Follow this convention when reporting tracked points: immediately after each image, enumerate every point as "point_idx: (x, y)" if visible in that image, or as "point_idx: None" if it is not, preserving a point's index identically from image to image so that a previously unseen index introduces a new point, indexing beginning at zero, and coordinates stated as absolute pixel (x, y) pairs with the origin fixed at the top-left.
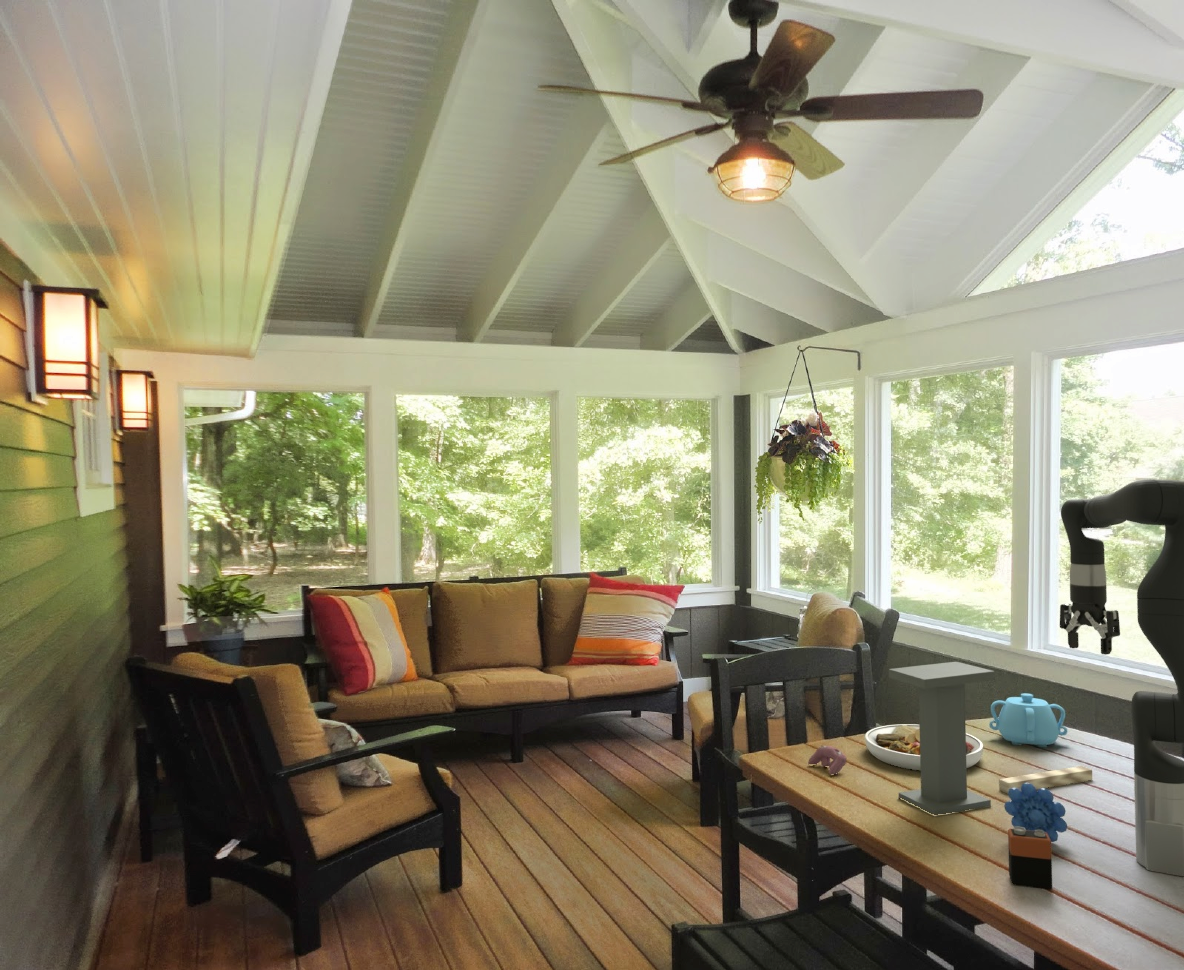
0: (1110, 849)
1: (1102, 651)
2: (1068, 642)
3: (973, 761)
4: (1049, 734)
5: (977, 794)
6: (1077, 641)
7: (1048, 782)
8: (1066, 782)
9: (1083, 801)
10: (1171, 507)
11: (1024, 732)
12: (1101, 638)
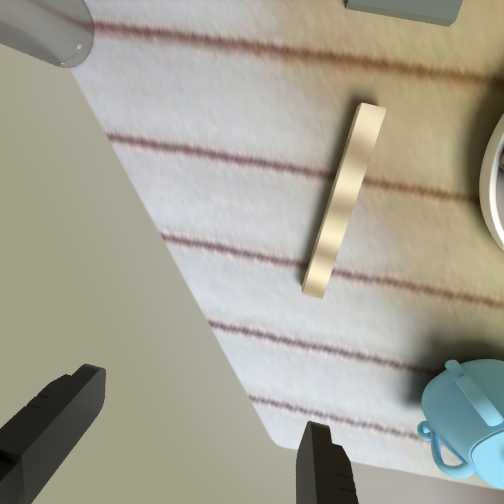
0: (127, 12)
1: (82, 372)
2: (346, 464)
3: (481, 171)
4: (431, 394)
5: (382, 6)
6: (298, 494)
7: (329, 200)
8: (317, 237)
9: (260, 183)
10: None
11: (471, 373)
12: (17, 456)
